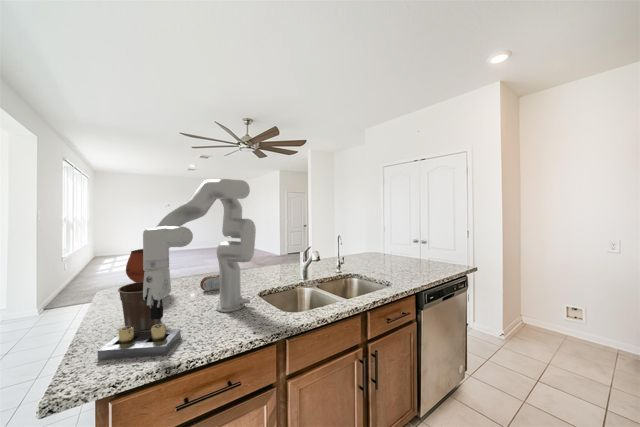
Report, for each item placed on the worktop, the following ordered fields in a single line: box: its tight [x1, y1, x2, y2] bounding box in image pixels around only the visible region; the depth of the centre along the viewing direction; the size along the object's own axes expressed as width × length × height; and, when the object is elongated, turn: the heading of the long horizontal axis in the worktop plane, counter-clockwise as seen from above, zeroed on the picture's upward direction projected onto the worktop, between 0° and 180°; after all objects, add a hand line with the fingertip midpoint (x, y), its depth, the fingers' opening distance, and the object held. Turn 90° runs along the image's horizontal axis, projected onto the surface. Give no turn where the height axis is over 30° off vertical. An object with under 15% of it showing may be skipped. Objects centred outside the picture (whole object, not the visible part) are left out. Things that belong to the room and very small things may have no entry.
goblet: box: [125, 248, 145, 283], centre depth 147 cm, size 19×19×25 cm
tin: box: [199, 274, 220, 292], centre depth 154 cm, size 15×3×8 cm, turn 130°
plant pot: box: [117, 282, 163, 332], centre depth 107 cm, size 16×16×16 cm
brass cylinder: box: [150, 323, 166, 342], centre depth 91 cm, size 4×4×7 cm
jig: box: [97, 325, 182, 361], centre depth 90 cm, size 20×12×7 cm, turn 97°
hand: (157, 318), depth 90 cm, fingers closed
